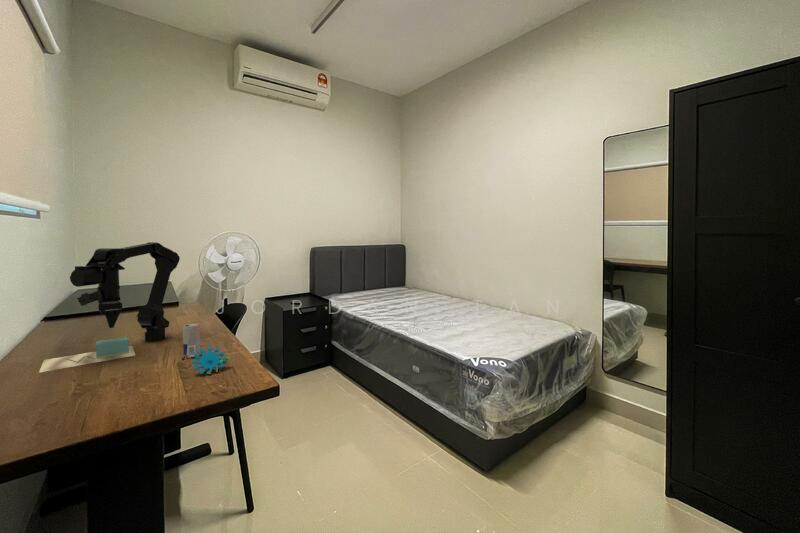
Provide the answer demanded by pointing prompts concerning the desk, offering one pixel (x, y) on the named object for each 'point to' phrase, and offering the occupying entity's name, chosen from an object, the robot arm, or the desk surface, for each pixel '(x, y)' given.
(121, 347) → the sanding block
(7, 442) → the desk surface
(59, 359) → the board
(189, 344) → the energy drink
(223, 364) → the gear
